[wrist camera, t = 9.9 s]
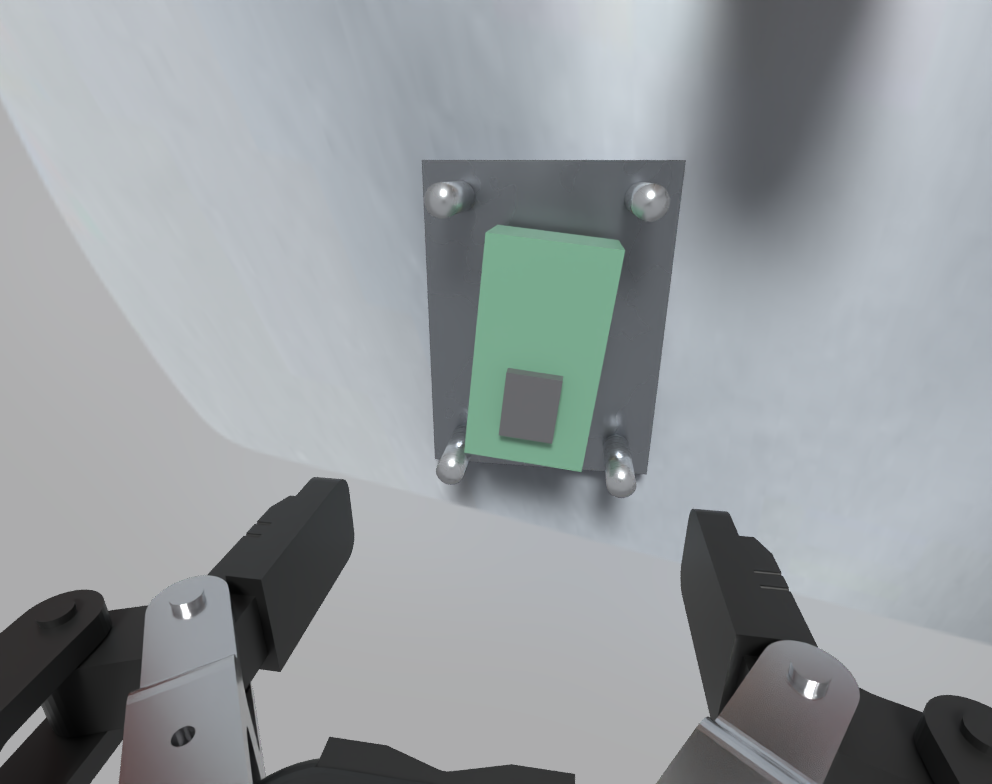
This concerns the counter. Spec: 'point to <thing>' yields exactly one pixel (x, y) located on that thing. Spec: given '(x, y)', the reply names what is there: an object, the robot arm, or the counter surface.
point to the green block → (540, 344)
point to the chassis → (565, 209)
